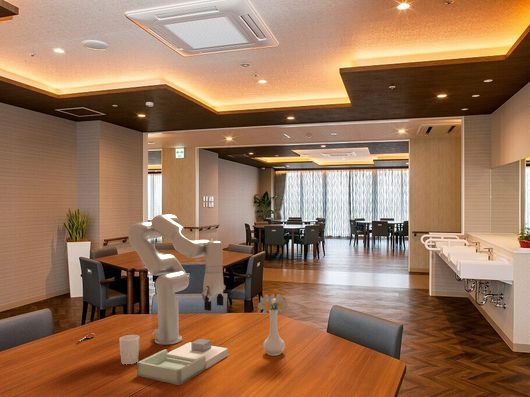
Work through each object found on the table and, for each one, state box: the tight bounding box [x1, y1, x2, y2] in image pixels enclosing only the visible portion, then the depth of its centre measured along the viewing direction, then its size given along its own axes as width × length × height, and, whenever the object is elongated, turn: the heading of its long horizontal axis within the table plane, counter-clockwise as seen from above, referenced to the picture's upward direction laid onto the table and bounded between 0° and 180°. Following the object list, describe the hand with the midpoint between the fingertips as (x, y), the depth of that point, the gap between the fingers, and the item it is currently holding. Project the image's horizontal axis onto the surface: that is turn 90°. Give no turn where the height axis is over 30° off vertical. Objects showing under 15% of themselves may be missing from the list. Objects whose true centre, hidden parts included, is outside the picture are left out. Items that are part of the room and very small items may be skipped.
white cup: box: [118, 334, 140, 366], centre depth 174 cm, size 8×8×10 cm
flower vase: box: [257, 293, 288, 357], centre depth 183 cm, size 13×18×25 cm
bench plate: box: [167, 341, 229, 370], centre depth 177 cm, size 20×16×3 cm
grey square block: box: [191, 338, 212, 352], centre depth 180 cm, size 6×6×3 cm
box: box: [136, 349, 207, 386], centre depth 163 cm, size 20×16×5 cm
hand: (214, 307), depth 188 cm, fingers open, 9 cm apart
